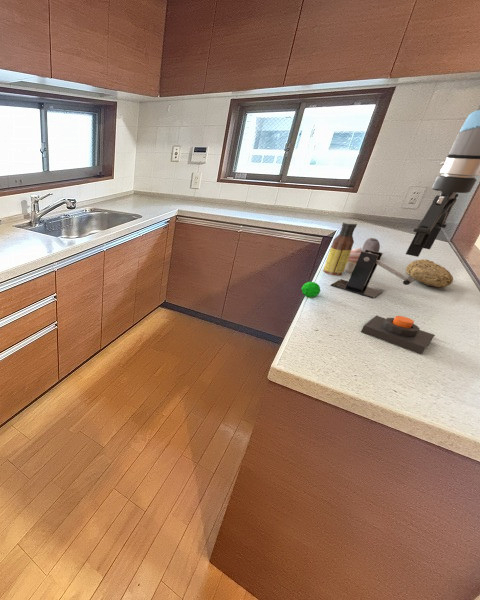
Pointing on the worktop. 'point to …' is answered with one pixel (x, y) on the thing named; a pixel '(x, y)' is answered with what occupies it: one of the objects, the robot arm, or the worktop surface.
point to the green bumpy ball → (311, 289)
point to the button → (403, 322)
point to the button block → (398, 334)
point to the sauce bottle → (340, 250)
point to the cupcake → (352, 260)
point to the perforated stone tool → (371, 245)
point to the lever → (395, 272)
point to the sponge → (429, 273)
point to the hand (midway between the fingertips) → (418, 251)
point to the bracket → (362, 275)
